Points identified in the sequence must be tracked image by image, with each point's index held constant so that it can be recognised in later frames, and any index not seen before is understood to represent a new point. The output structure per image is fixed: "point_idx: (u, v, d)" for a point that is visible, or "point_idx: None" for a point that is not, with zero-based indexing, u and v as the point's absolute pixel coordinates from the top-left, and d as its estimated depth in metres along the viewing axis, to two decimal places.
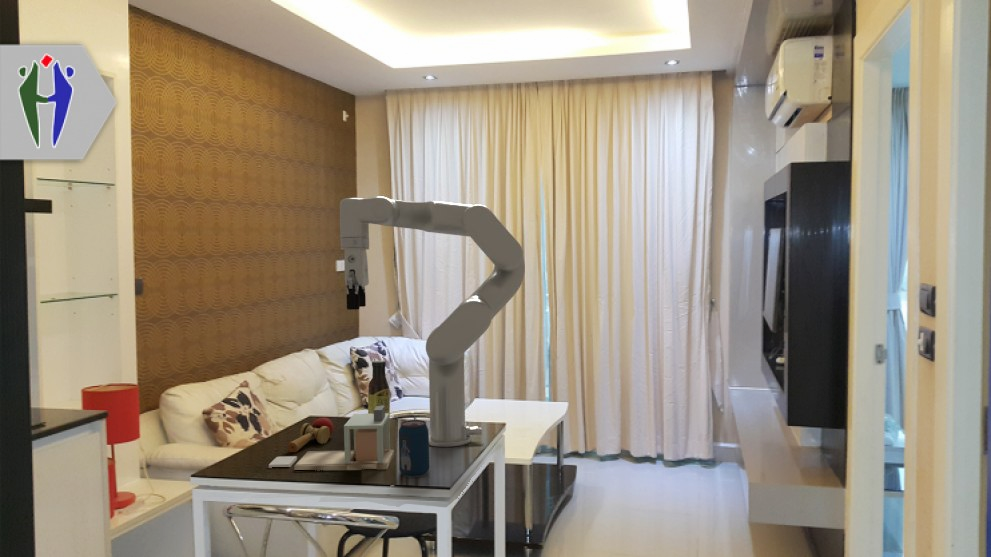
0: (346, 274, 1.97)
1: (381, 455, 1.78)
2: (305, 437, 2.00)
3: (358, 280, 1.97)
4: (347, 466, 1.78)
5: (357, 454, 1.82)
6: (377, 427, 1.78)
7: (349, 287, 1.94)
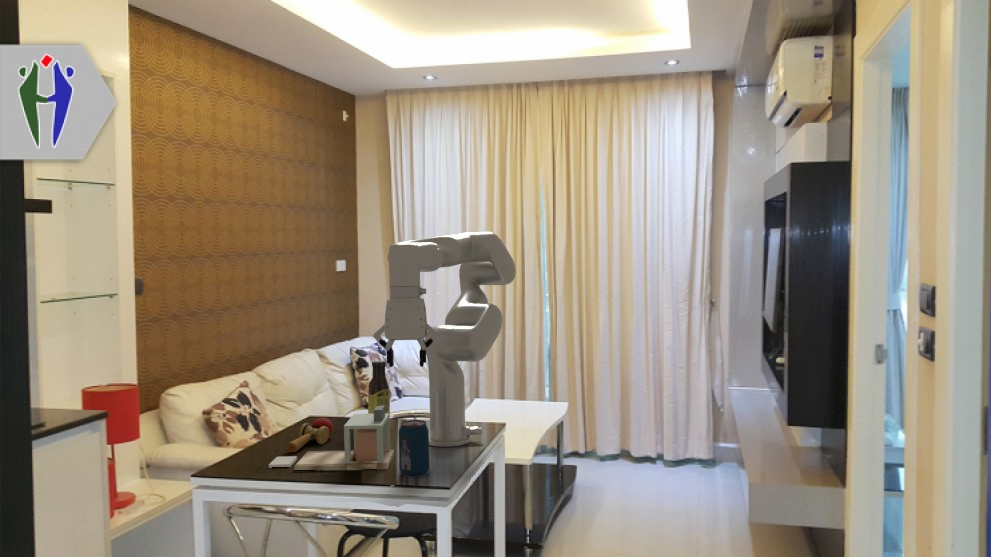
0: (425, 326, 1.82)
1: (381, 455, 1.78)
2: (304, 437, 1.99)
3: (427, 331, 1.85)
4: (347, 466, 1.78)
5: (357, 454, 1.82)
6: (377, 427, 1.78)
7: (432, 341, 1.84)
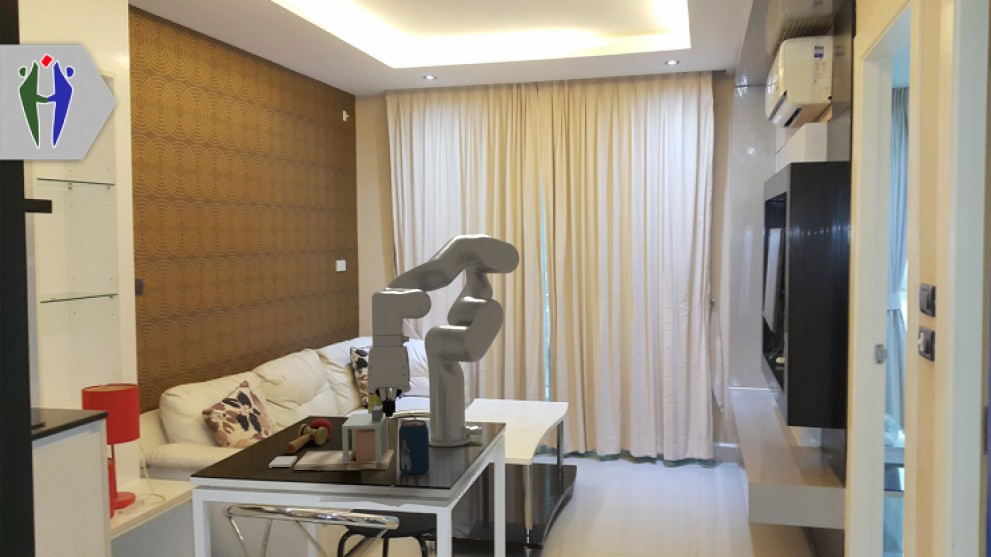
0: (407, 374, 1.83)
1: (379, 455, 1.78)
2: (303, 438, 1.99)
3: (409, 378, 1.86)
4: (347, 466, 1.78)
5: (357, 454, 1.82)
6: (375, 427, 1.78)
7: None
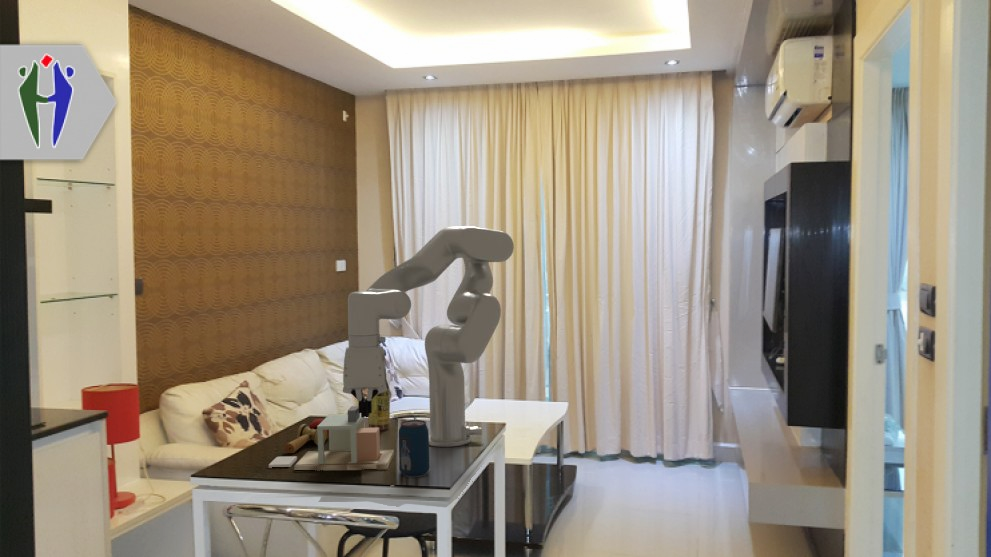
0: (383, 374, 1.83)
1: (355, 455, 1.78)
2: (302, 438, 1.99)
3: None
4: (347, 466, 1.78)
5: (357, 454, 1.82)
6: (350, 427, 1.78)
7: None
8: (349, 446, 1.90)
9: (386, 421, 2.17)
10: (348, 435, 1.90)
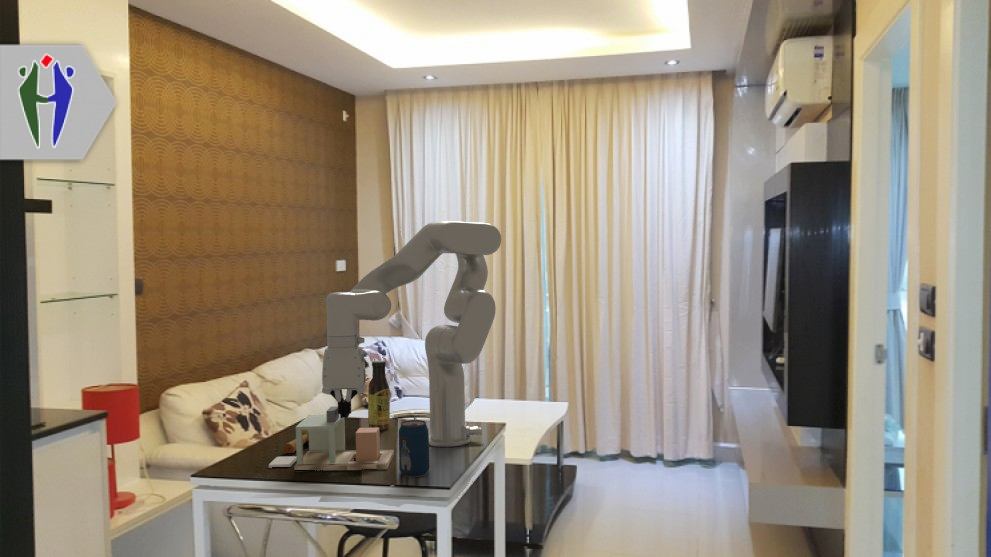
0: (362, 375, 1.83)
1: (333, 456, 1.78)
2: (302, 438, 1.98)
3: (365, 379, 1.86)
4: (347, 466, 1.78)
5: (357, 454, 1.82)
6: (329, 428, 1.78)
7: (357, 393, 1.84)
8: (329, 446, 1.90)
9: (386, 421, 2.17)
10: (328, 435, 1.90)
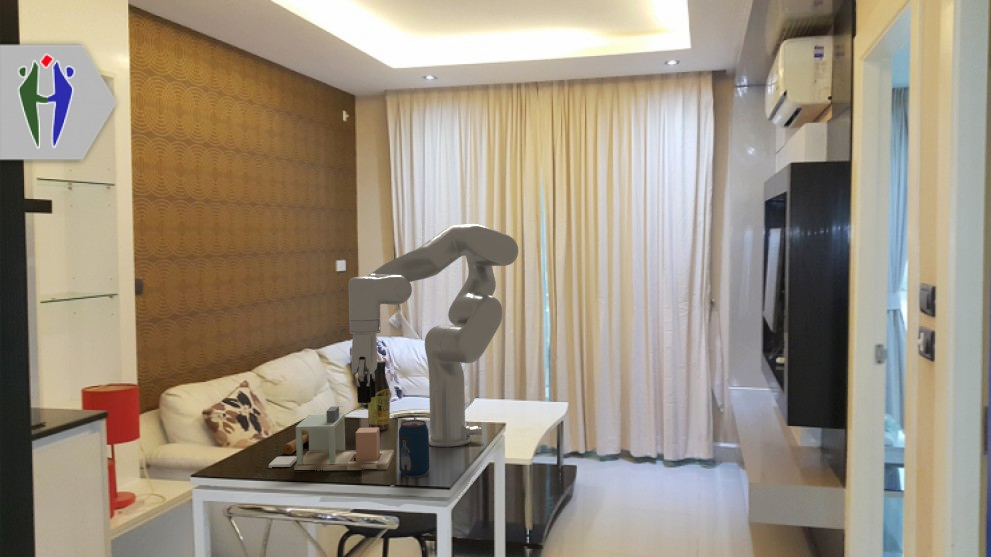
0: None
1: (333, 456, 1.78)
2: None
3: None
4: (347, 466, 1.78)
5: (357, 454, 1.82)
6: (329, 428, 1.78)
7: None
8: (329, 446, 1.90)
9: (386, 421, 2.17)
10: (328, 435, 1.90)
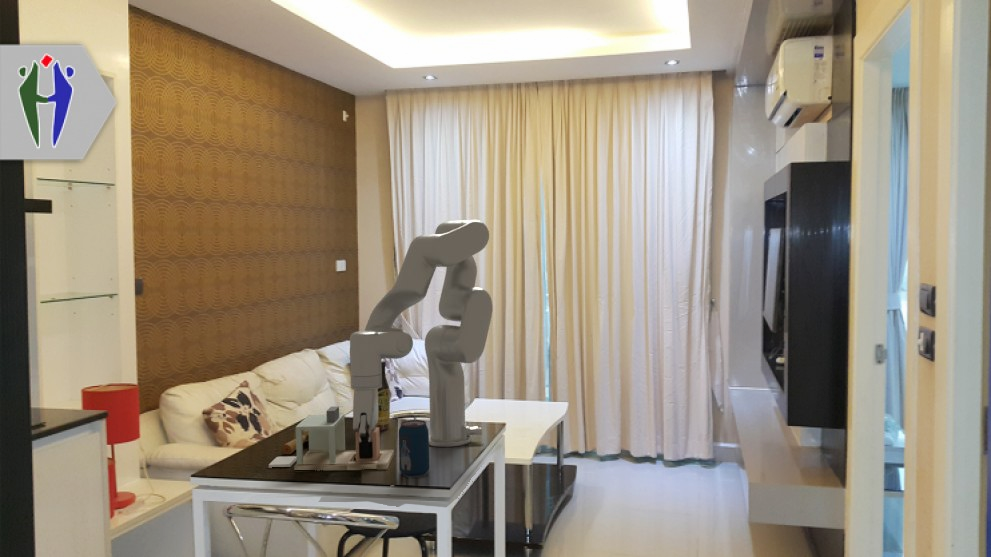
0: None
1: (333, 456, 1.78)
2: None
3: None
4: (347, 466, 1.78)
5: (357, 454, 1.82)
6: (329, 428, 1.78)
7: None
8: (329, 446, 1.90)
9: (386, 421, 2.17)
10: (328, 435, 1.90)
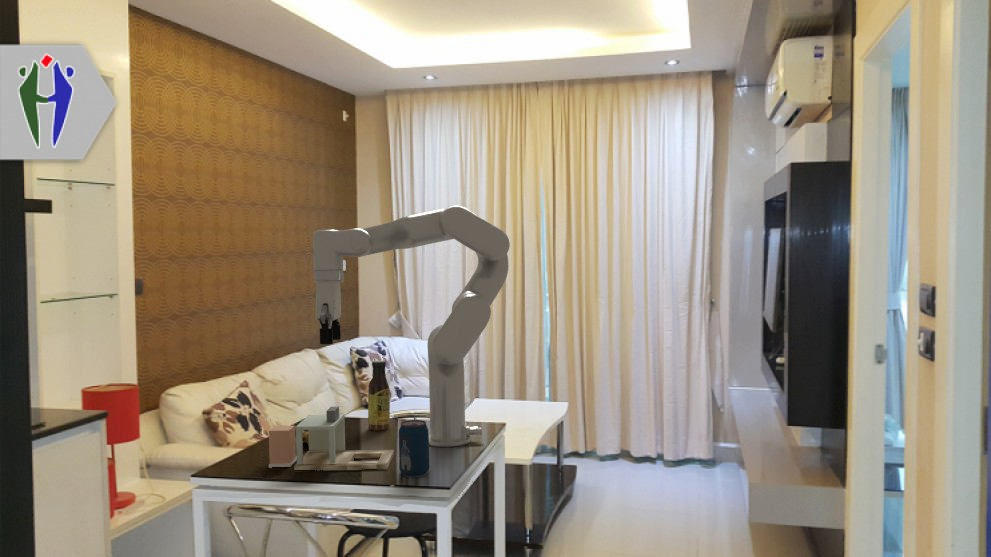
0: None
1: (333, 456, 1.78)
2: (295, 441, 1.96)
3: None
4: (347, 466, 1.78)
5: (270, 452, 1.82)
6: (329, 428, 1.78)
7: None
8: (329, 446, 1.90)
9: (386, 421, 2.17)
10: (328, 435, 1.90)
